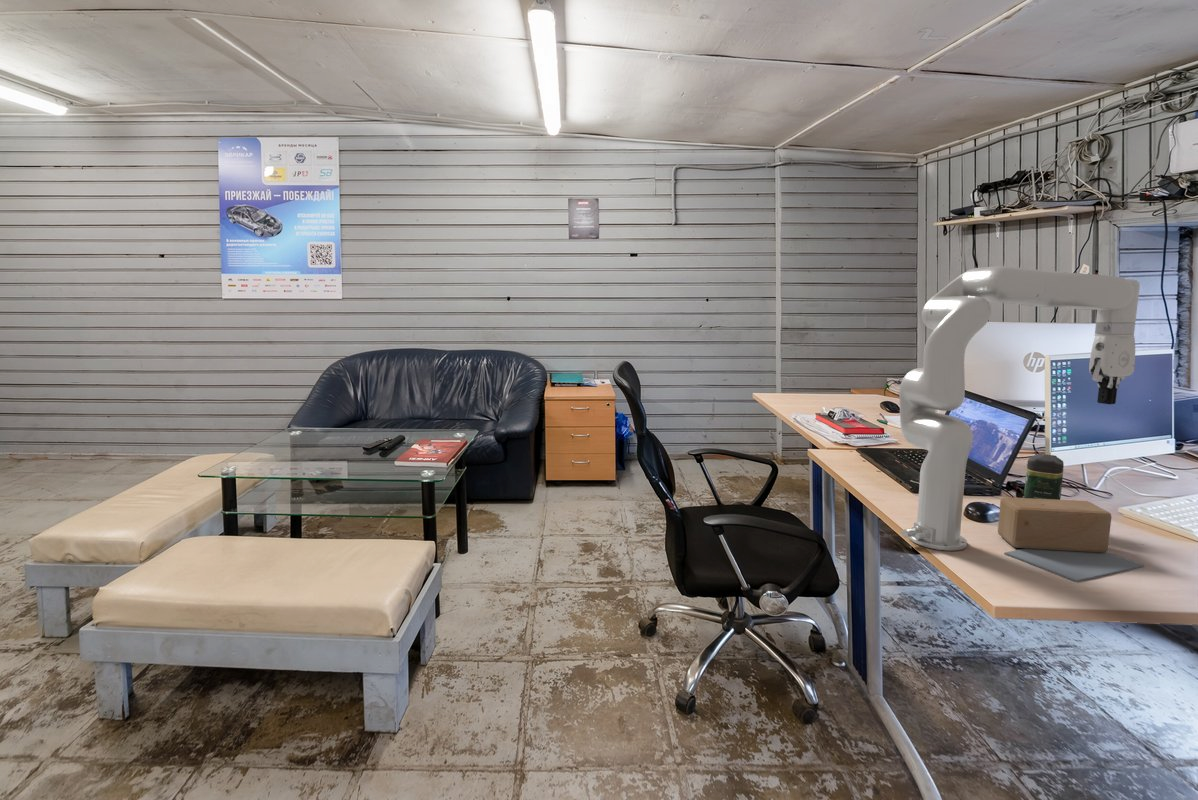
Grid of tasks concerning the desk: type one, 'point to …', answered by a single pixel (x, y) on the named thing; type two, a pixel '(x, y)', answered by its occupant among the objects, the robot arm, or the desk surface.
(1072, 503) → the wooden block
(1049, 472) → the coffee jar
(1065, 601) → the desk surface
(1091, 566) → the mat
